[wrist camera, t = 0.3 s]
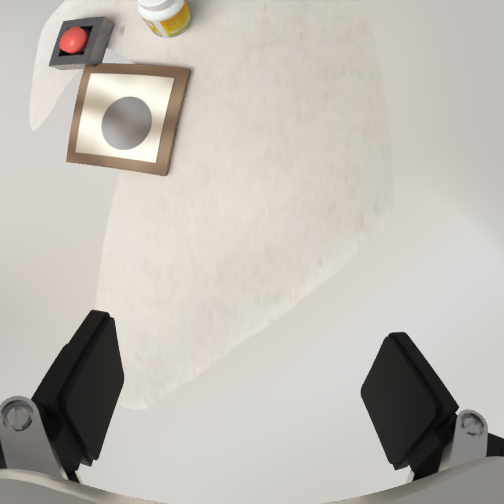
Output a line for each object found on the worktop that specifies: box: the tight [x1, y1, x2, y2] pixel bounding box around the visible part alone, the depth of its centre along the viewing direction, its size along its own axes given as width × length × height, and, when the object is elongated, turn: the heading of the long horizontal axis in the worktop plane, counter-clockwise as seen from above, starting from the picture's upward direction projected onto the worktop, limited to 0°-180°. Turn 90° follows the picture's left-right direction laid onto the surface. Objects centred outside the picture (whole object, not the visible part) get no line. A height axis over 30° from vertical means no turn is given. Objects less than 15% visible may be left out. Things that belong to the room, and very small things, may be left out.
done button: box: [60, 27, 90, 55], centre depth 24 cm, size 4×4×2 cm
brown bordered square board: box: [66, 63, 191, 176], centre depth 32 cm, size 14×15×2 cm
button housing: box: [49, 17, 114, 70], centre depth 26 cm, size 7×7×4 cm
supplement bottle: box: [138, 0, 191, 38], centre depth 23 cm, size 5×5×10 cm
